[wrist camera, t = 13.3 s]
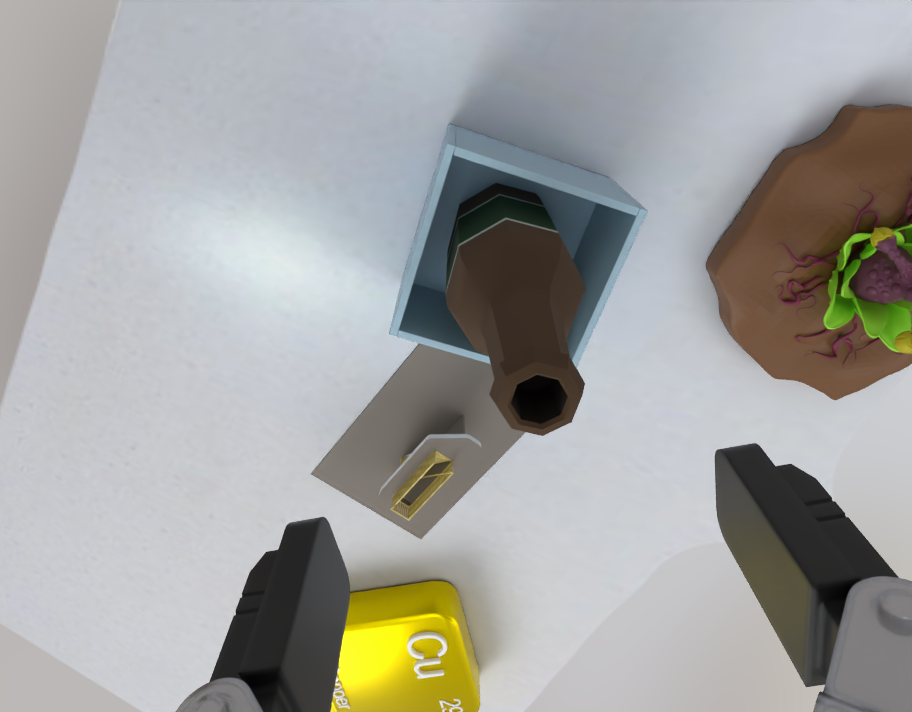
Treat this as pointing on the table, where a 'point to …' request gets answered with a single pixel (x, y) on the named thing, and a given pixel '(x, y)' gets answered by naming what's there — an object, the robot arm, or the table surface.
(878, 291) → the plant
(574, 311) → the beer bottle
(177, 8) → the table surface
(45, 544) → the table surface
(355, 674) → the element tile
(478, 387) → the platform
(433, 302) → the case
